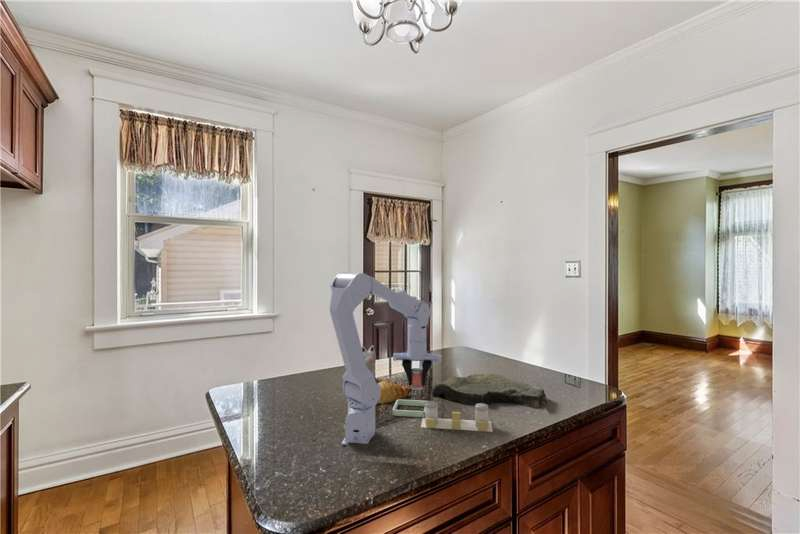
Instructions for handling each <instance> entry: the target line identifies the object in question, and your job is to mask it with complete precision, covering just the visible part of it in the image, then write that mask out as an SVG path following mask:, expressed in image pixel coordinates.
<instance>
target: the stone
mask: <svg viewBox="0 0 800 534" xmlns="http://www.w3.org/2000/svg"><path fill="white" fill-rule="evenodd" d="M431 395H432V396H433V397H434V398H440V399H443V397H444V399H446V400H448V401H450V402H451V401H453V402H459V403H463V404H464V405H468V406H475V405H476V404H478V403H483V404H486V405H488V406H489V405H491V404H512V405H514V404H515V405H520V406H524V407H526V408H527V407H528V408H533V409H539V408H541V407H543V408H547V396H546V393H545V389H543V388H542V387H538V386H535V385H532V384H528V383H524V382H522V381H521V382H520V381H517V380H513V379H511V378H509V377H506V376H505V375H502V374H497V373H482V374H478V373H473V374H470V375H468V376H465V377H464V376H450V377H449V378H446V379H444V380H443V381H441V382H438V383H436V384H435V385H434V387H433V389H432V393H431ZM441 395H442V396H441ZM541 405H542V406H541Z"/></svg>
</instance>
